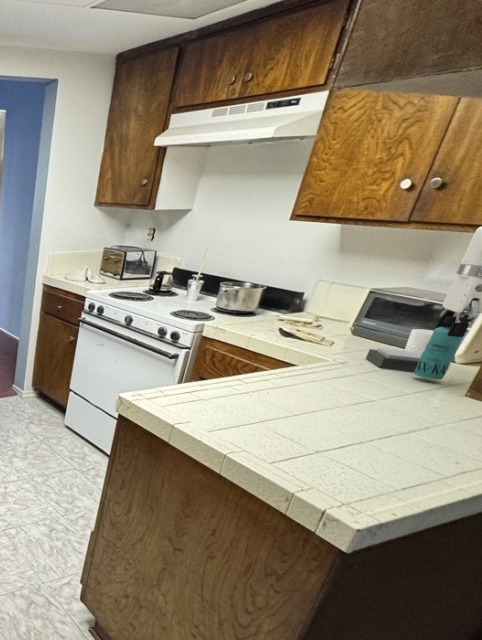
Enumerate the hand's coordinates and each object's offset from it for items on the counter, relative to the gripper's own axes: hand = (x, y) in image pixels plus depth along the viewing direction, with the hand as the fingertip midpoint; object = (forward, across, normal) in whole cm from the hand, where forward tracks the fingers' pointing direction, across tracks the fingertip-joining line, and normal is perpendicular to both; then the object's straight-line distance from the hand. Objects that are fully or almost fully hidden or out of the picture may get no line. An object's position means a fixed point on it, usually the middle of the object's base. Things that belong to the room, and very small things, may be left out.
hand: (448, 333), depth 138 cm
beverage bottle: (+15, 0, 0) cm, 15 cm away
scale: (+15, +15, +2) cm, 21 cm away
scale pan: (+12, +15, +2) cm, 19 cm away
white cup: (+15, +29, -8) cm, 34 cm away
